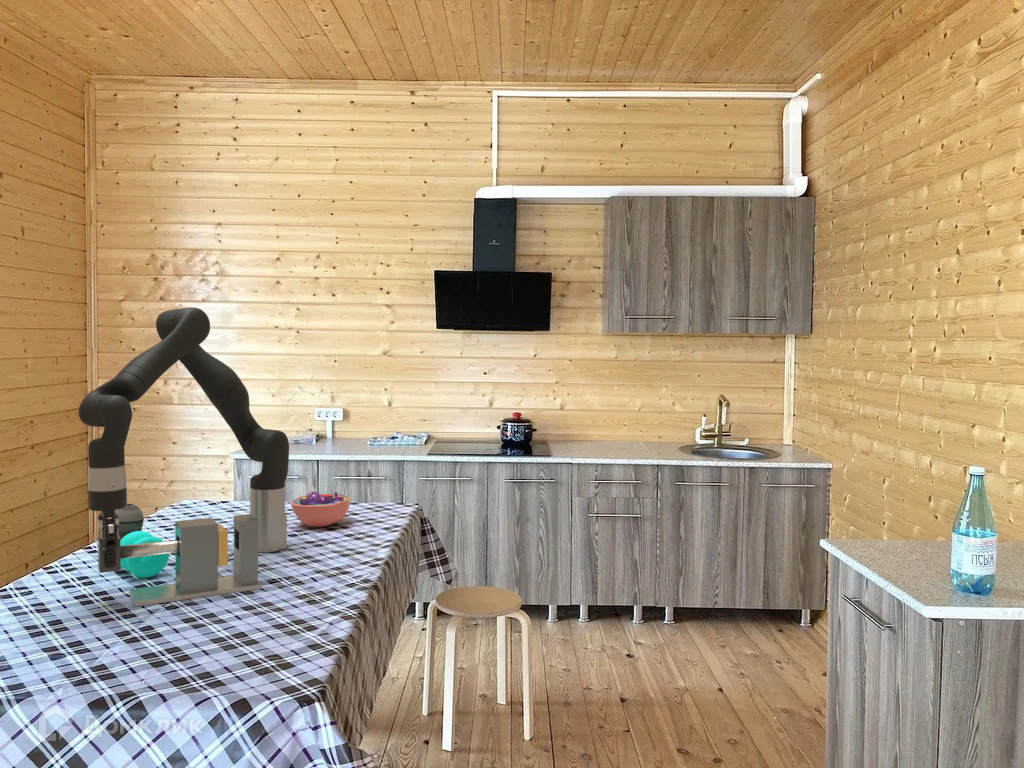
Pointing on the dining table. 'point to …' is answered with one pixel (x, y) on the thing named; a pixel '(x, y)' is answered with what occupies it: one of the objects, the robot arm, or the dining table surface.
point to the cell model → (320, 508)
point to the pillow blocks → (207, 563)
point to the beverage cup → (129, 520)
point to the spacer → (222, 546)
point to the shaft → (135, 551)
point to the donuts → (144, 564)
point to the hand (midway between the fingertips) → (109, 563)
